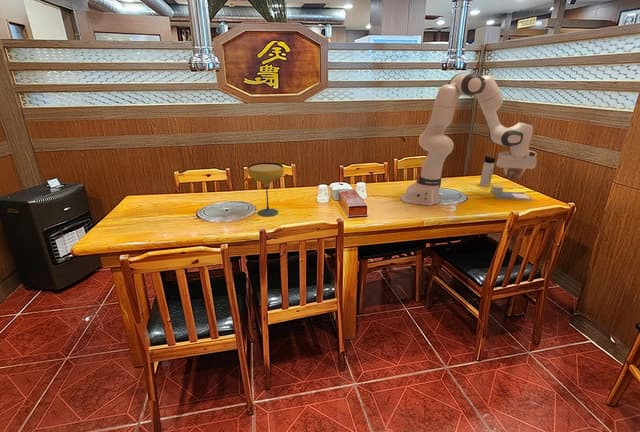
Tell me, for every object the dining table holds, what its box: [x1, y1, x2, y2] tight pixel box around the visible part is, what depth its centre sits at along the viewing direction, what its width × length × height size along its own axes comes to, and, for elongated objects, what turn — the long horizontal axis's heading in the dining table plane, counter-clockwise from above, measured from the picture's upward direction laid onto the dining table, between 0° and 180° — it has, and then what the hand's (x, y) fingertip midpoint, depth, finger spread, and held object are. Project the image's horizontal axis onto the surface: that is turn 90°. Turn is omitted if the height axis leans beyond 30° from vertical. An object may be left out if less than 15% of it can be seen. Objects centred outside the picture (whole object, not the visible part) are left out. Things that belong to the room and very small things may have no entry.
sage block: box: [490, 184, 504, 195], centre depth 213 cm, size 5×5×4 cm
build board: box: [489, 190, 534, 202], centre depth 209 cm, size 20×15×1 cm
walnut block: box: [504, 168, 523, 180], centre depth 200 cm, size 6×6×4 cm
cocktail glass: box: [247, 162, 285, 218], centre depth 178 cm, size 18×18×25 cm
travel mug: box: [479, 155, 496, 188], centre depth 224 cm, size 6×7×20 cm
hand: (513, 175), depth 200 cm, fingers closed on walnut block, 6 cm apart
